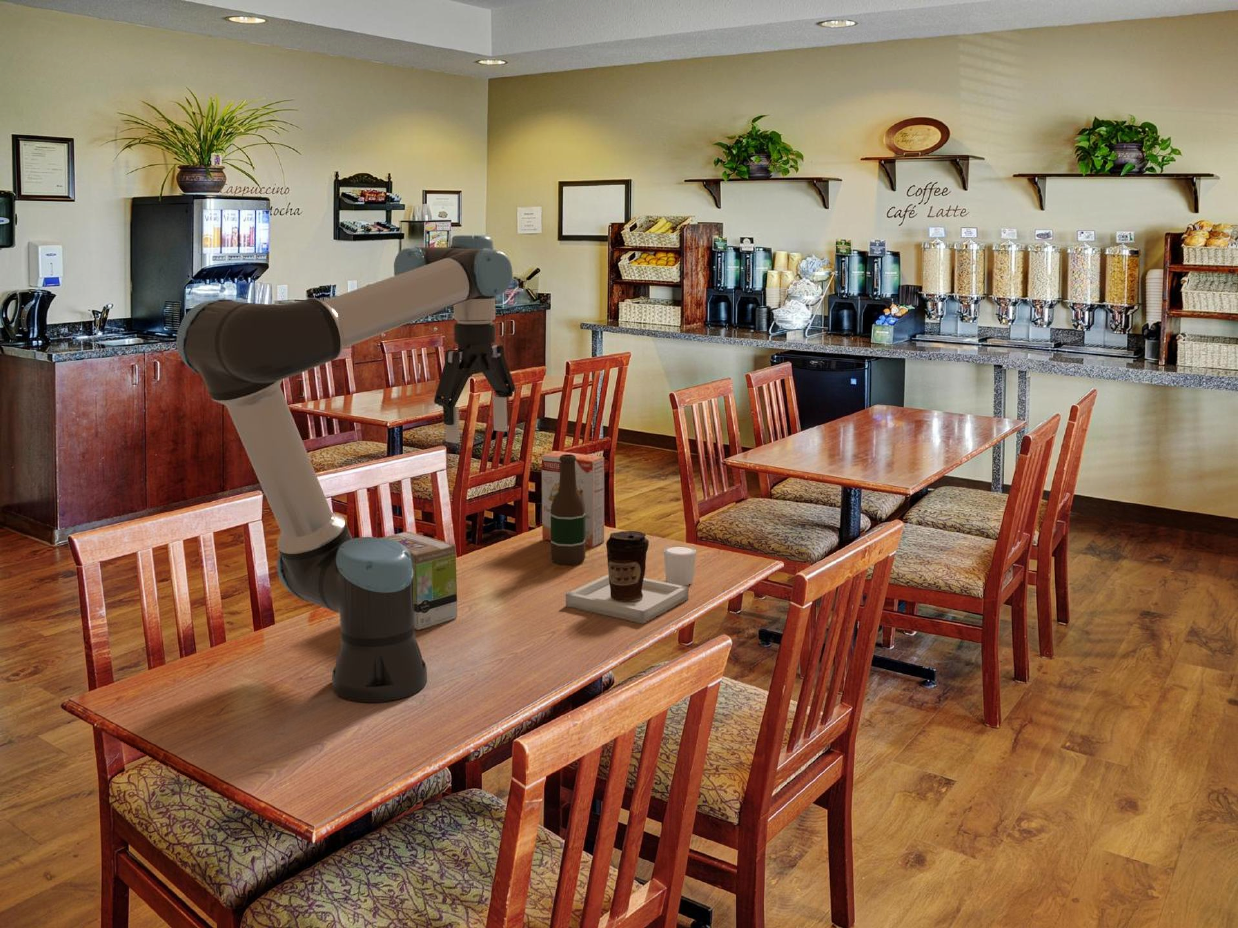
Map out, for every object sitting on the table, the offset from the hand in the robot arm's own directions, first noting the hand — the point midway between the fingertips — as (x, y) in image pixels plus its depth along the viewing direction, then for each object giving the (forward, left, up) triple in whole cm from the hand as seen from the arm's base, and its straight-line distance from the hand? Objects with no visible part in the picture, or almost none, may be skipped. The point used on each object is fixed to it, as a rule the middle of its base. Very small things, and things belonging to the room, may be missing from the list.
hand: (477, 436), depth 208 cm
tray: (+21, -20, -35) cm, 45 cm away
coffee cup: (+21, -20, -34) cm, 44 cm away
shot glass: (+38, -22, -35) cm, 56 cm away
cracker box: (+50, +14, -35) cm, 63 cm away
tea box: (-8, +10, -35) cm, 37 cm away
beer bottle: (+37, +6, -35) cm, 51 cm away
